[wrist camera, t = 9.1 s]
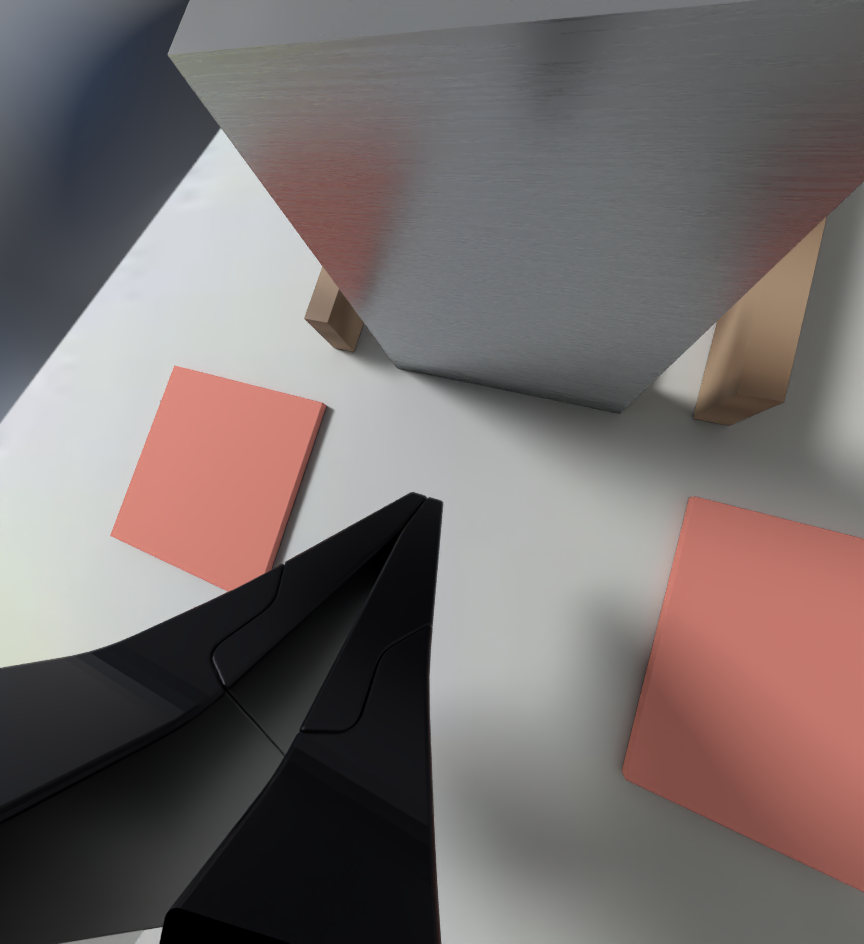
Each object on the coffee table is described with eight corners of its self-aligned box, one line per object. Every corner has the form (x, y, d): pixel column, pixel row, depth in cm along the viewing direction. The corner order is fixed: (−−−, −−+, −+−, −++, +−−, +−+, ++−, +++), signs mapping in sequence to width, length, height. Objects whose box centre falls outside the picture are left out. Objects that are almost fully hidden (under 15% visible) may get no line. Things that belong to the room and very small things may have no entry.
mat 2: (1020, 957, 9) (1044, 978, 8) (621, 770, 11) (625, 779, 11) (1076, 595, 9) (1100, 598, 9) (689, 497, 12) (695, 496, 12)
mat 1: (260, 601, 16) (254, 603, 15) (118, 535, 18) (110, 535, 18) (326, 405, 16) (322, 402, 16) (181, 368, 19) (174, 365, 18)
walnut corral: (729, 425, 12) (784, 401, 10) (333, 347, 17) (304, 318, 14) (811, 84, 13) (879, -14, 11) (418, 98, 18) (404, 31, 15)
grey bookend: (619, 414, 13) (1085, -31, 3) (397, 368, 16) (167, 54, 5) (689, 152, 14) (1257, -997, 3) (468, 150, 17) (396, -505, 6)
